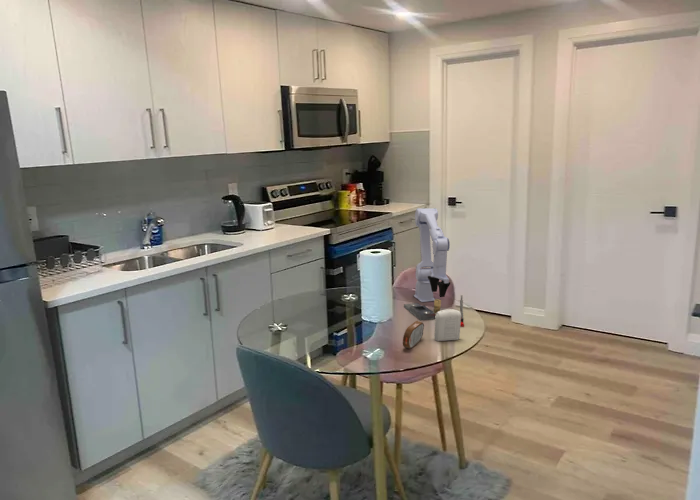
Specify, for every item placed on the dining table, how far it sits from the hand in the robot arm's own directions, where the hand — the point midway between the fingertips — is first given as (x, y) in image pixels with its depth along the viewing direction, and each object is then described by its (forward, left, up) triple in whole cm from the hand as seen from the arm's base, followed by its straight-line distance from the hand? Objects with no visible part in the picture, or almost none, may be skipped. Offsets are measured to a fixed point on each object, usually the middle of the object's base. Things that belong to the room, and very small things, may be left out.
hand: (438, 294), depth 239 cm
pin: (0, 0, -9) cm, 9 cm away
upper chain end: (+1, -8, -9) cm, 12 cm away
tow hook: (+14, 0, -9) cm, 17 cm away
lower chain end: (-4, -8, -9) cm, 13 cm away
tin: (+29, -25, -9) cm, 39 cm away
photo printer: (+28, -10, -9) cm, 31 cm away
